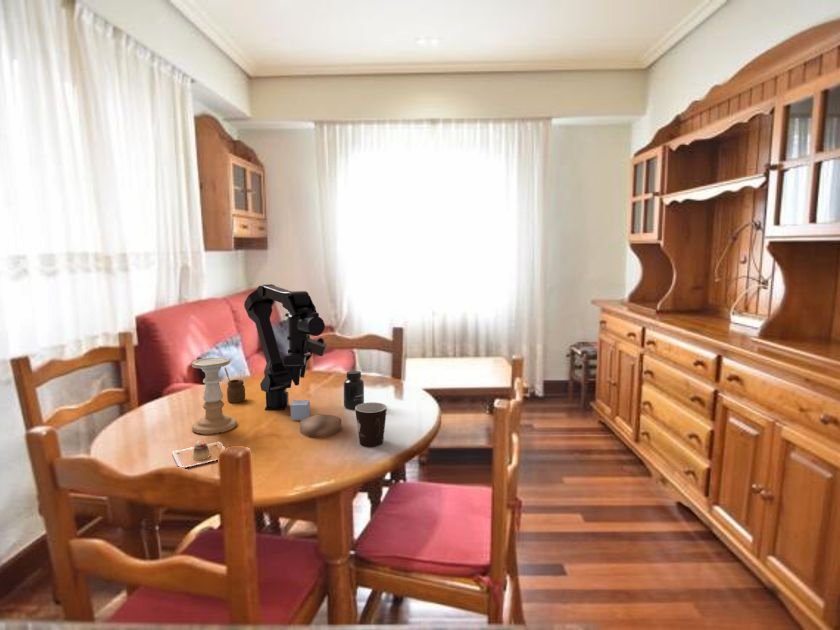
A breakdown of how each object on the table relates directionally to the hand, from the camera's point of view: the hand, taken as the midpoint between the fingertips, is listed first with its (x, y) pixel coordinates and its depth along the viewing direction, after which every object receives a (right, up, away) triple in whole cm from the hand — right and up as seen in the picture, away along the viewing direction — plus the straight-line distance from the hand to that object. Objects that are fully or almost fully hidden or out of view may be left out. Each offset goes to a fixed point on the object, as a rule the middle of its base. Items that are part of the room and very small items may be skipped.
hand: (299, 381), depth 149 cm
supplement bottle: (+15, -11, +12) cm, 22 cm away
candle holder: (-24, -13, -7) cm, 28 cm away
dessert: (-18, -16, -27) cm, 36 cm away
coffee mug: (+24, -15, -20) cm, 35 cm away
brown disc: (+9, -13, -9) cm, 18 cm away
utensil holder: (-27, -10, +19) cm, 34 cm away
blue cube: (0, -12, +1) cm, 12 cm away
